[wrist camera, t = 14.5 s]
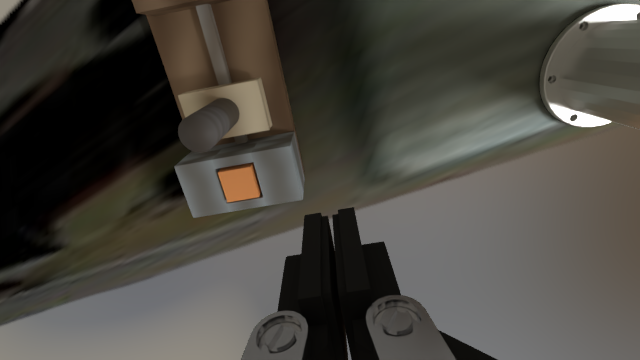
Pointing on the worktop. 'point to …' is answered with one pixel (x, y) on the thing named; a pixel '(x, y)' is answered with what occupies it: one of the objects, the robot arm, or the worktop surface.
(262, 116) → the cream plate with knob
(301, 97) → the worktop surface
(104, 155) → the worktop surface
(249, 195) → the button
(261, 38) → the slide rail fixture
